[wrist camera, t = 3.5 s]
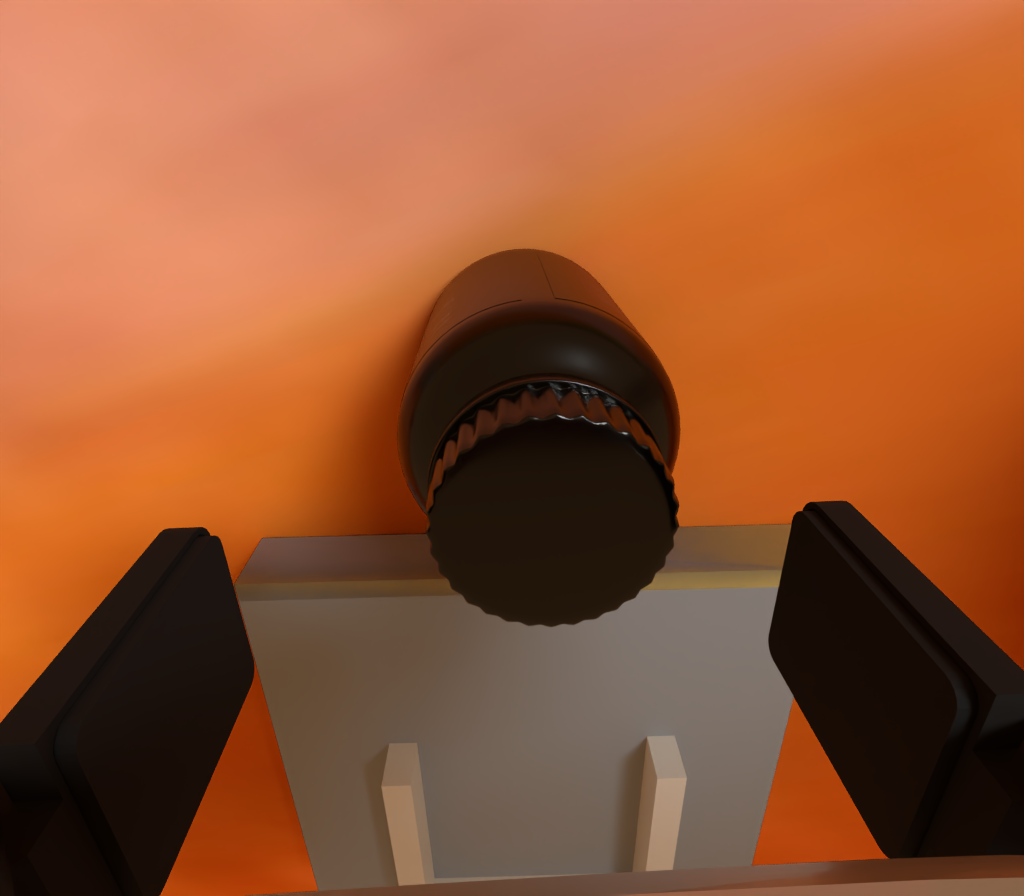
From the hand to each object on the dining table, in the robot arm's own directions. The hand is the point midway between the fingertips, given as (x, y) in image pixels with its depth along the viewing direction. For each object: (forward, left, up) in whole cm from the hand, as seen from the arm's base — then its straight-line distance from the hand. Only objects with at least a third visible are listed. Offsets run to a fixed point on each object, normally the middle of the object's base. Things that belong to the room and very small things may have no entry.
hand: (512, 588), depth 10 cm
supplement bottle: (0, +1, -14) cm, 14 cm away
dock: (+18, +1, -13) cm, 22 cm away
